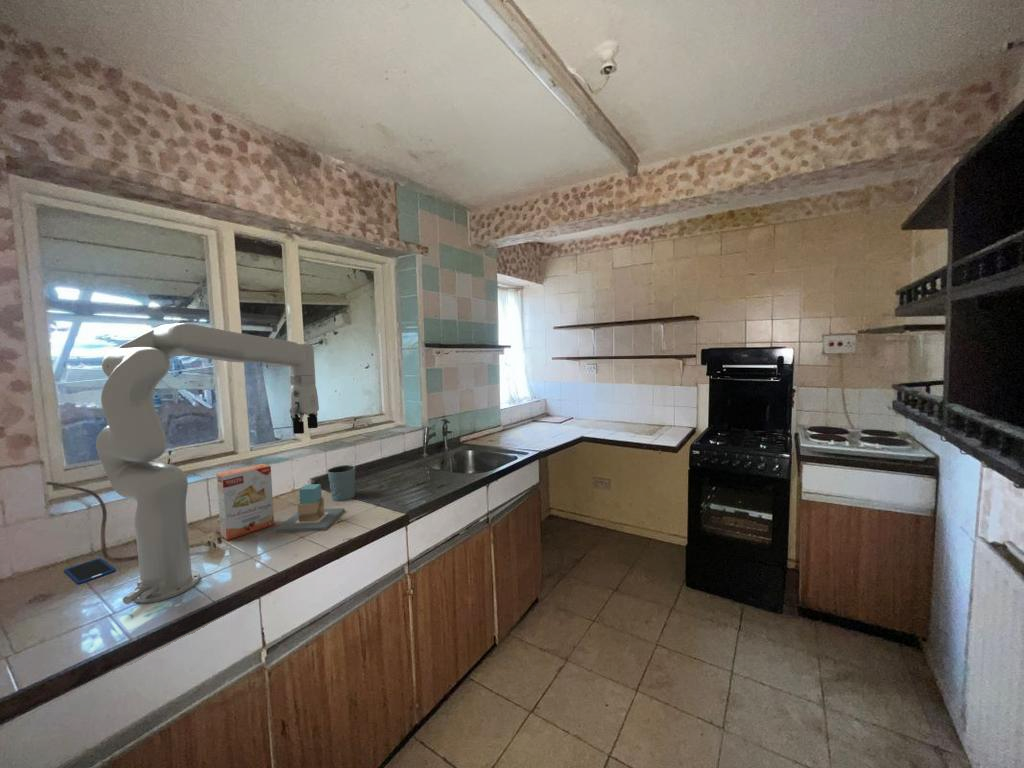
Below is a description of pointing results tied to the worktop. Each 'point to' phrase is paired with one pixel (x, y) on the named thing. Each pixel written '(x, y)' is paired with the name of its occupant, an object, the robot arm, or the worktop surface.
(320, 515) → the oak cube
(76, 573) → the cell phone
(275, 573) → the worktop surface
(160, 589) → the robot arm
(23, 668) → the worktop surface
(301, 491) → the teal cube
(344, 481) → the blue cup
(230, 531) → the cracker box
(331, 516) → the board
